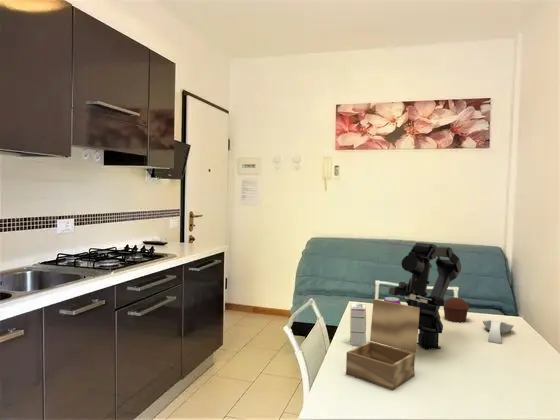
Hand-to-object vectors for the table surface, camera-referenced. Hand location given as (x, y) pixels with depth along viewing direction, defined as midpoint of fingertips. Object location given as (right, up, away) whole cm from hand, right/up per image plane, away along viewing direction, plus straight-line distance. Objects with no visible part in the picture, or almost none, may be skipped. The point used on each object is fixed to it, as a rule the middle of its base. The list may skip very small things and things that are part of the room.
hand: (412, 320), depth 151 cm
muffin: (+34, -12, +47) cm, 59 cm away
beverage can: (+2, -12, +36) cm, 38 cm away
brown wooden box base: (-15, -13, -16) cm, 25 cm away
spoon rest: (+43, -13, +27) cm, 52 cm away
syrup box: (-17, -12, +13) cm, 25 cm away
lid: (-9, +1, -10) cm, 14 cm away
